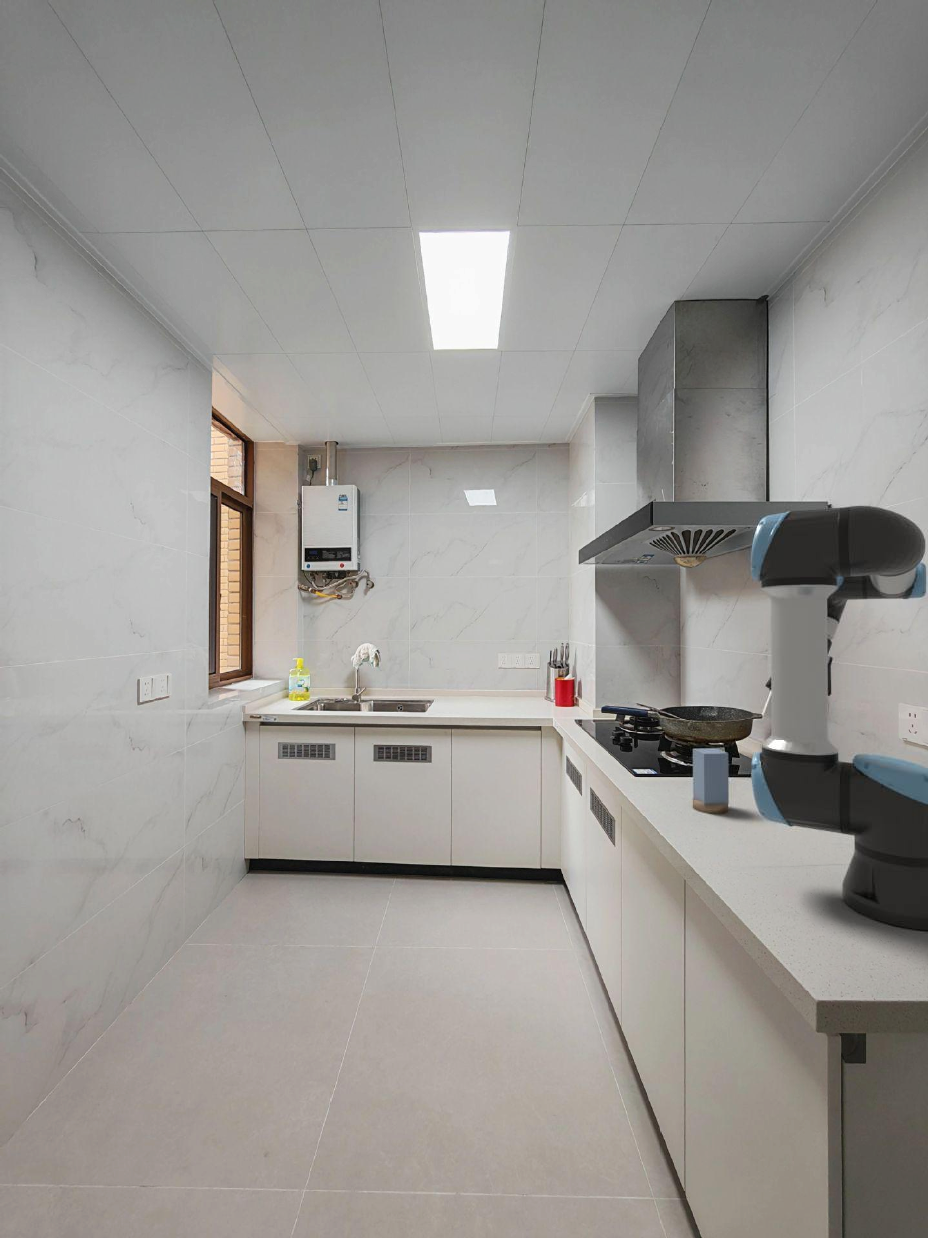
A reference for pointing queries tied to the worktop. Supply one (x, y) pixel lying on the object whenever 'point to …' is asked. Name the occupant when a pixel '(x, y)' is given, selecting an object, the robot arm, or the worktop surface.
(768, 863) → the worktop surface
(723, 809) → the post stand
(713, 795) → the upright blue pillar
